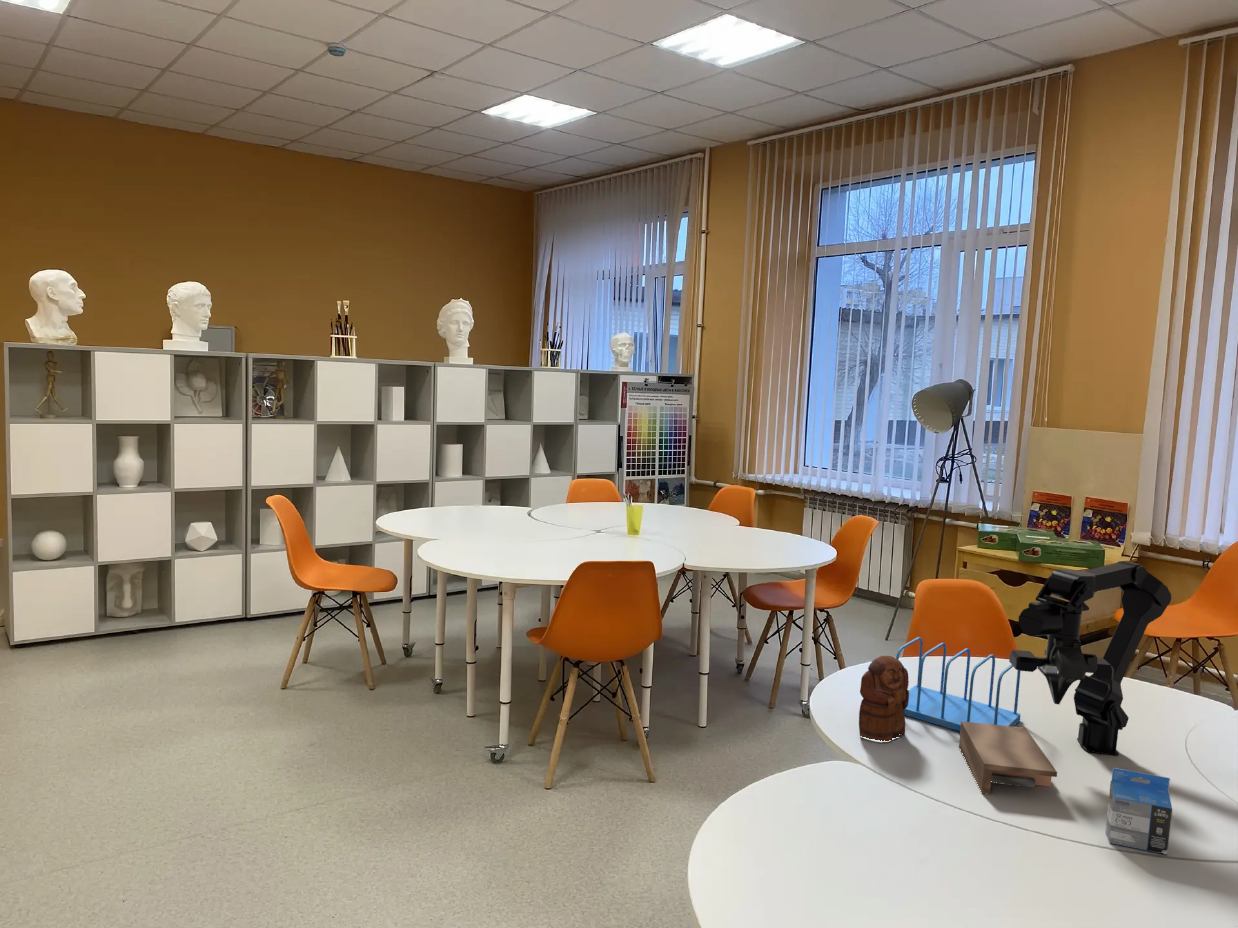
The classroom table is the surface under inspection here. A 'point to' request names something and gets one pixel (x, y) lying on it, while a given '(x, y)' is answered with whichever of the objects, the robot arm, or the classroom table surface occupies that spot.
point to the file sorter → (955, 708)
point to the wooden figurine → (883, 699)
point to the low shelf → (1002, 754)
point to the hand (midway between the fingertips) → (1056, 703)
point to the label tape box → (1139, 811)
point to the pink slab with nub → (1038, 778)
